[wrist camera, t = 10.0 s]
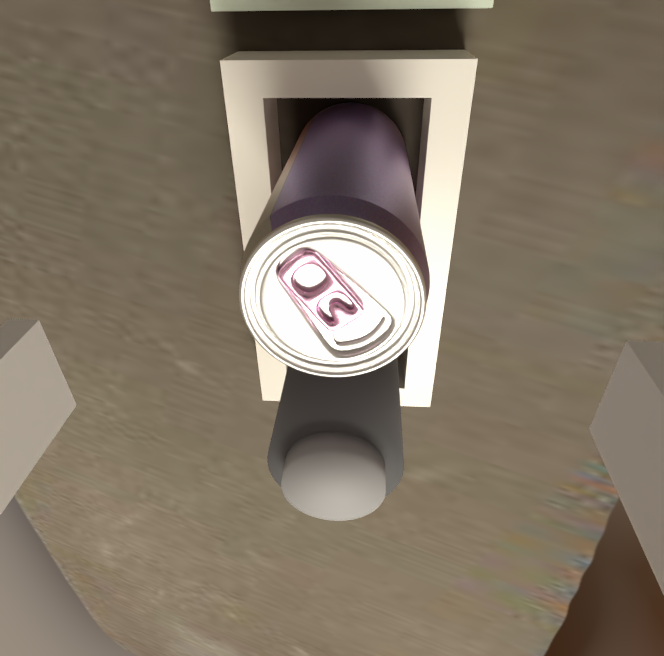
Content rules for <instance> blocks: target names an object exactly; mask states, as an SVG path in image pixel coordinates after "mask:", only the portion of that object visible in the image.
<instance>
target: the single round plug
mask: <svg viewBox="0 0 664 656" xmlns="http://www.w3.org/2000/svg"><path fill="white" fill-rule="evenodd" d="M267 458H268V467H269V470H270V472H271V475H272V476H273V478H274V480H275V481H276V482H277V483H278V484H279V485H280V486H281V487H282V491H283V494H284V496H285V497H286V499H287V500H288V501H289V503H290V504H292V505H293V506H294V507H295V508H297V509H298V510H300V511H301V512H303V513H305V514H307V515H310V516H313V517H316V518H320V519H325V520H333V521H343V520H352V519H356V518H360V517H363V516H365V515H367V514H370V513H371V512H373V511H374V510H376V509H377V508H378V507H379V506H380V505H381V503H382V502H383V500H384V498H385V496H387V495H388V494H390V493H391V492H392V491H393V490H394V489H395V488H396V487H397V485H398V484H399V482H400V480H401V478H402V476H403V471H404V458H403V441H402V425H401V408H400V391H399V374H398V357H397V358H396V359H394V360H393V361H391V362H390V363H388V364H387V365H385V366H383V367H381V368H379V369H376V370H374V371H371V372H368V373H365V374H361V375H356V376H350V377H324V376H317V375H312V374H308V373H305V372H301V371H299V370H296V369H294V368H291V367H289V366H288V368H287V372H286V376H285V381H284V385H283V390H282V394H281V398H280V403H279V407H278V412H277V416H276V420H275V425H274V429H273V433H272V438H271V442H270V447H269V451H268V457H267Z"/></svg>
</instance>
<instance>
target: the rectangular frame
mask: <svg viewBox="0 0 664 656" xmlns="http://www.w3.org/2000/svg"><path fill="white" fill-rule="evenodd" d="M493 1H494V0H210V5H211V11H286V10H365V9H444V8H493Z"/></svg>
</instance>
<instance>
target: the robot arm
mask: <svg viewBox="0 0 664 656" xmlns="http://www.w3.org/2000/svg"><path fill="white" fill-rule="evenodd" d="M75 407H76V403H75V400H74V398H73V396H72V394H71V391H70V389H69V387H68V385H67V382H66V380H65V378H64V376H63V373H62V371H61V369H60V367H59V364H58V362H57V360H56V358H55V355H54V353H53V351H52V349H51V346H50V344H49V342H48V340H47V337H46V335H45V333H44V331H43V328H42V326H41V324H40V322H39V320H23V319H7V320H6V321H5V322H4V323H3V324H2V325H1V326H0V515H1V513H2V512H3V511H4V509H5V508H6V506H7V504H8V503H9V502H10V500H11V499H12V498H13V496H14V495H15V493H16V492H17V490H18V489H19V487H20V486H21V485H22V483H23V482H24V480H25V479H26V477H27V476H28V475H29V473H30V472H31V470H32V469H33V467H34V466H35V464H36V463H37V462H38V460H39V459H40V457H41V456H42V454H43V453H44V451H45V450H46V449H47V447H48V446H49V444H50V443H51V441H52V440H53V438H54V437H55V436H56V434H57V433H58V431H59V430H60V428H61V427H62V426H63V424H64V423H65V421H66V420H67V418H68V417H69V415H70V414H71V413H72V411H73V410H74V408H75ZM589 431H590V433H591V435H592V437H593V440H594V442H595V444H596V446H597V449H598V451H599V453H600V455H601V457H602V460H603V462H604V464H605V466H606V468H607V471H608V473H609V475H610V477H611V480H612V482H613V484H614V486H615V488H616V491H617V493H618V495H619V497H620V499H621V502H622V504H623V506H624V508H625V511H626V513H627V515H628V517H629V519H630V522H631V524H632V526H633V528H634V530H635V533H636V535H637V537H638V539H639V541H640V544H641V546H642V548H643V550H644V553H645V555H646V557H647V559H648V561H649V564H650V566H651V568H652V570H653V572H654V575H655V577H656V579H657V581H658V584H659V586H660V588H661V590H662V592H663V595H664V342H657V341H629V340H626V343H625V345H624V347H623V350H622V352H621V355H620V357H619V359H618V362H617V364H616V366H615V369H614V371H613V374H612V376H611V378H610V381H609V383H608V385H607V388H606V390H605V392H604V395H603V397H602V400H601V402H600V404H599V407H598V409H597V411H596V414H595V416H594V419H593V421H592V423H591V426H590V428H589Z"/></svg>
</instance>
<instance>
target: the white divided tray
mask: <svg viewBox="0 0 664 656" xmlns="http://www.w3.org/2000/svg"><path fill="white" fill-rule="evenodd" d="M477 60H478V59H477V58H476V57H474V56H473V55H472V54H470V53H469V52H468V51H466V50H346V51H238V52H236V53H234V54H232V55H230V56H228V57H226V58H224V59H222V60H220V66H221V74H222V82H223V90H224V97H225V105H226V113H227V121H228V129H229V137H230V145H231V153H232V161H233V169H234V176H235V184H236V192H237V200H238V208H239V216H240V224H241V232H242V240H243V248H244V251H245V248H246V246H247V243H248V241H249V239H250V237H251V235H252V233H253V231H254V229H255V227H256V225H257V223H258V221H259V219H260V217H261V214H262V212H263V210H264V208H265V206H266V204H267V202H268V200H269V198H270V196H271V194H272V192H273V190H274V188H275V186H276V184H277V182H278V180H279V177H280V175H281V173H282V166H281V152H280V138H279V124H278V110H277V98H424V105H423V116H422V128H421V140H420V151H419V163H418V175H417V186H416V203H417V209H418V214H419V219H420V224H421V230H422V235H423V240H424V245H425V251H426V256H427V261H428V266H429V273H430V289H429V296H428V300H427V304H426V312H425V316H424V320H423V323H422V326H421V328H420V330H419V332H418V334H417V336H416V337H415V339H414V340H413V342H412V343H411V344H410V346H409V347H408V348H407V349H406V350H405V351H404V352H403V353H402V355H399V356H398V374H399V391H400V406H419V407H430V403H431V396H432V389H433V382H434V374H435V367H436V360H437V352H438V345H439V338H440V330H441V323H442V316H443V309H444V301H445V294H446V287H447V279H448V272H449V265H450V257H451V250H452V243H453V236H454V228H455V221H456V214H457V206H458V199H459V192H460V184H461V177H462V170H463V163H464V155H465V148H466V141H467V133H468V126H469V119H470V111H471V104H472V97H473V90H474V82H475V75H476V68H477ZM255 342H256V350H257V358H258V366H259V374H260V382H261V390H262V398H263V400H269V401H280V398H281V394H282V390H283V385H284V381H285V376H286V372H287V368H288V366H287V365H285V364H283V363H282V362H280V361H278V360H277V359H275V358H274V357H273V356H271V355H270V354H269V353H268V352H267V351H265V350H264V349H263V348H262V347H261V346H260V345H259V343H258V342H257V341H256V340H255Z"/></svg>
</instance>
